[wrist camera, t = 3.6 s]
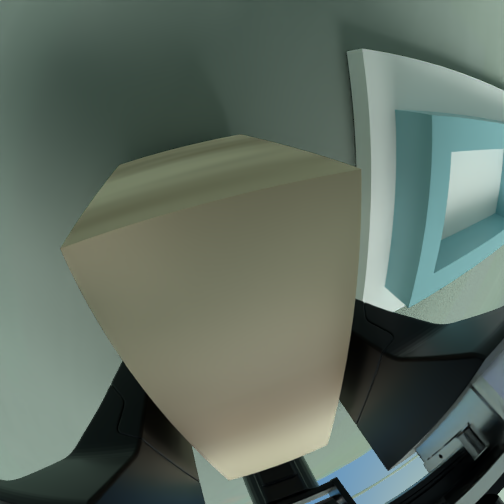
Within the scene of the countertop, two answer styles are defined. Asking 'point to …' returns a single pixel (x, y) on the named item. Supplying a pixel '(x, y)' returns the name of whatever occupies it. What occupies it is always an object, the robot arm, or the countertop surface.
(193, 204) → the key block
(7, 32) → the countertop surface
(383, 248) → the keyed cradle
